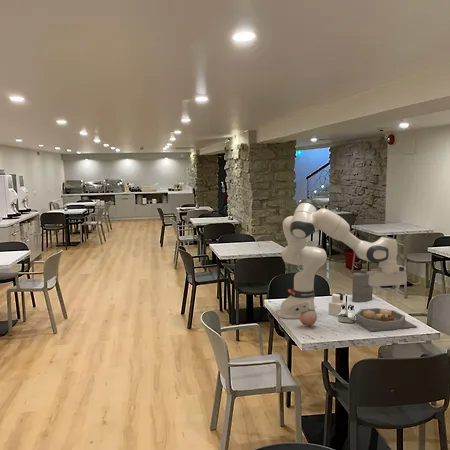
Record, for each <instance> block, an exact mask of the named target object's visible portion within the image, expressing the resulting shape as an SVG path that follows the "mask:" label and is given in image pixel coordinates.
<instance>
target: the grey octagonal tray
mask: <svg viewBox="0 0 450 450" xmlns="http://www.w3.org/2000/svg"><path fill="white" fill-rule="evenodd" d="M354 314H355V316H356V320H355V322H354V323H355V324H357V325H359V326H360V327H362V328H363V329H365V330H366V331H368V332H370V333H376V332H377V333H378V332H379V333H380V332H389V331H398V330H397V329H401V330H410V328H412V329H417V328H418V327H417V325H415V324H414V323H411V322H409V321H408V320H406V315H404V314H402V313H400V312H399V311H396V310H393V309H388V308H380V307H372V308H369V307H368V308H360V309H359V310H358V311H357V312H356V313H354ZM382 315H385V317H388V315H392V316H393V317H394V321H385V322H383V321H381V316H382Z"/></svg>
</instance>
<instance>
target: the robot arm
mask: <svg viewBox="0 0 450 450" xmlns="http://www.w3.org/2000/svg"><path fill="white" fill-rule="evenodd" d="M318 206H319V205H318V204H317V203H316V202H315V200H313V199H310V198H304V199H301V200H300V201H299V203H298V204H297V206H296V209H294V210H295V211H294V212H293V215H290V216H287V217H286V218H284V219H283V221H282V231H283V234H284V237H285V239H286V242H287V245H286V246H285V247H284V248H283V249H282V251H281V258H282V260H283V262H284V263H286V264H289V265H296V266H303V269H302V270H300V271H298V272H296V273H295V274H294V275H293V288H292V289H290V288H288V289H287V292H288V293H289V294H290V295H289V296H287V298H286V299H285V300H283V301H282V302H281V304H280V309H277V310H276V312H275V313H276V315H277V316H278V317H280V318H282V319H287V320H288V319H289V320H293V319H299V315H300V313H301V312H302V311H303V310H308V308H309V309H312V310H314V312H315V313H316V314H317V312H316V307H315V300H314V299H315V289H314V285H315V284H314V282H315V276H316V273H317V271H318V270H319V269H320V268H321V267H322V266H324V265H325V263H326V262H327V259H328V257H327V252H326V250H325V249H324V248H320V247H317V246H308V243H309V238H308V237H310V236H311V235H314V234H315V232H316V230H320V231H321V232H323V233H324V234H325V235H327V236H328V237H330V238H331V239H334V240H336V241H339V242H342V243H344V245H346V246H347V247H349V248H350V249H351V250H352V252H353V253H354V255H355V256H356V257H357V258H358V259H360V260H363V261H366V262H369V263H374V264H376V263H378V268H377V267H376V268H372V269H370V270H369V271H370V272H369V281H368V284H369V285H370V286H372V287H373V288H374V289H375V291H376V294H377V295H378V296H379V295H382V291H381V290H380V287H389V286H395V288H394V289H392V293H393V294H398V291H399V289H400V287H401V286H404V285H406V284H407V280H408V278H407V272H406V271H407V267H405V266H403V265H400V264H398V261H397V257H398V243H397V239H396V238H394V237H390V236H387V235H385V236H380V238H379V239H377V240H376V241H373V242H370V241H367V240H363V239H359V238H358V237H356V236H355V235H354V234H353V233H352V232H351V227H350V224H349V223H348V222H347V220H345V219H344V218H343V217H342V216H340V215H339V214H337V213H336V212H334V211H332V210H329V209H328V208H325V207H324V208H323V207H322V208H320V209H318V208H319V207H318Z"/></svg>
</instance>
